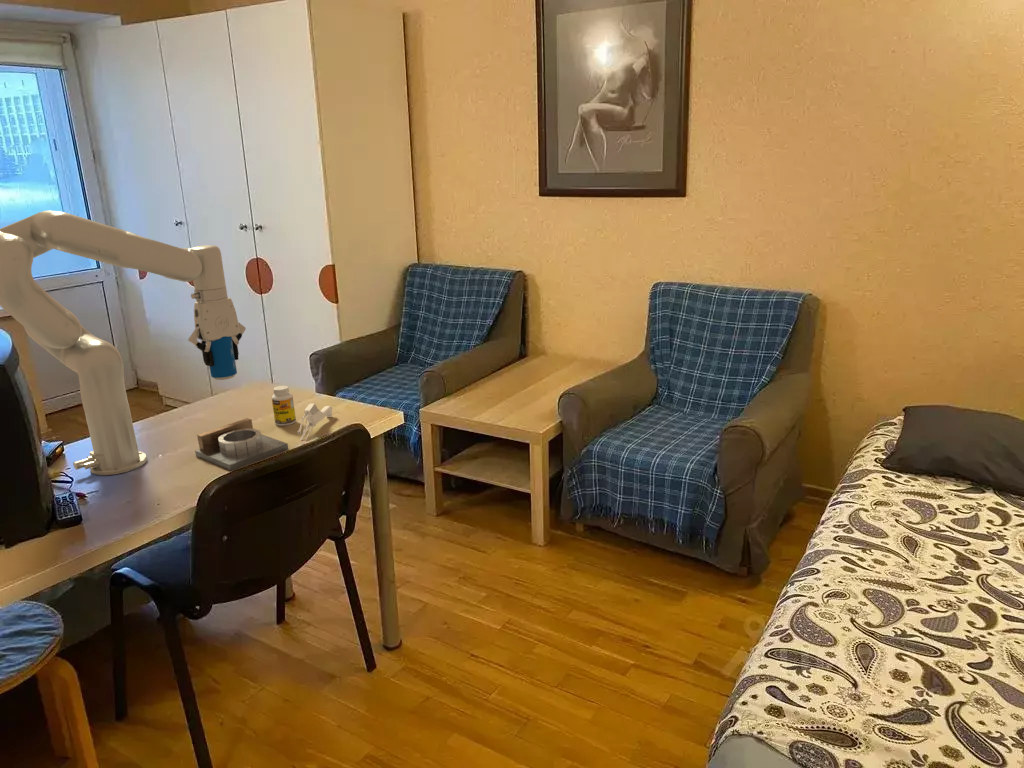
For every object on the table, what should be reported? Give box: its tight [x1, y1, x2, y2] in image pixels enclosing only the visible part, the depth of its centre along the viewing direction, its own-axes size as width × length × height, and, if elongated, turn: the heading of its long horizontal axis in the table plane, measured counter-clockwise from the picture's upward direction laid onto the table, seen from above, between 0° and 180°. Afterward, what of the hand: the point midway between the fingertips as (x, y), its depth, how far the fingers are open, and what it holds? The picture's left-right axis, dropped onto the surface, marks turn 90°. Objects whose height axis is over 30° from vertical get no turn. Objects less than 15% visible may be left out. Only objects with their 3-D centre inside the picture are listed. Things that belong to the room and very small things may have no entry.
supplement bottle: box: [271, 385, 297, 427], centre depth 211 cm, size 6×6×10 cm
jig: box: [194, 417, 289, 472], centre depth 192 cm, size 16×16×6 cm
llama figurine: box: [296, 402, 333, 441], centre depth 207 cm, size 2×11×18 cm
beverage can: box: [208, 336, 238, 381], centre depth 202 cm, size 6×6×12 cm
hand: (222, 361), depth 203 cm, fingers closed on beverage can, 6 cm apart
